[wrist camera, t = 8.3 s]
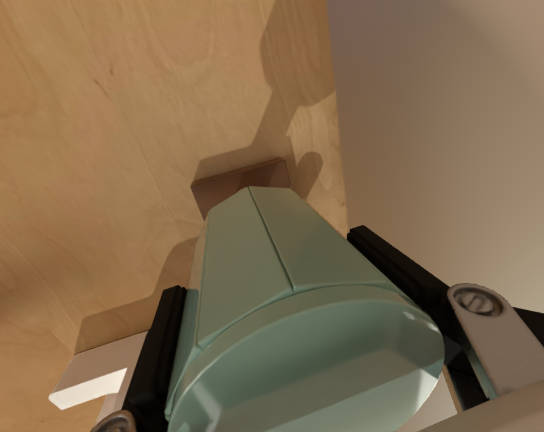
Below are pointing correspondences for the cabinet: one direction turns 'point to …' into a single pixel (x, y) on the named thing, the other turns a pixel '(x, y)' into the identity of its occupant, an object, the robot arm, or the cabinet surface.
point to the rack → (238, 183)
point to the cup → (294, 328)
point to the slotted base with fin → (99, 375)
